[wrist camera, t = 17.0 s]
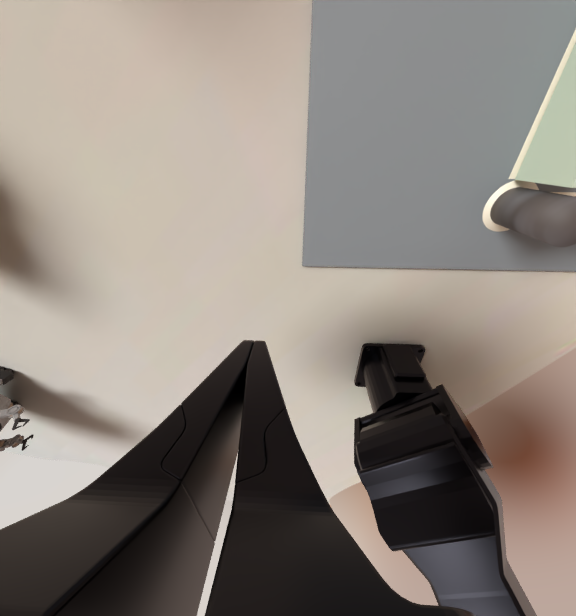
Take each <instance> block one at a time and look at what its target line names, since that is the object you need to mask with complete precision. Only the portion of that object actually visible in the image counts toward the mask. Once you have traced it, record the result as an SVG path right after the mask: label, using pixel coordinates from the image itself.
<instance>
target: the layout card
mask: <svg viewBox="0 0 576 616" xmlns="http://www.w3.org/2000/svg"><path fill="white" fill-rule="evenodd" d="M575 43H576V0H313V3H312V29H311V55H310V81H309V106H308V132H307V158H306V184H305V210H304V236H303V261H302V266H315V267H366V268H417V269H469V270H520V271H572V272H576V244H574V245H571V246H568V247H555V246H552V245H550V244H547V243H544V242H542V241H539V240H537V239H534V238H531V237H529V236H526V235H524V234H521V233H518V232H516V231H513V230H511V229H508V228H505V227H503V226H500V225H498V224H495V223H494V222H493V221H492V220H491V217H490V211H491V208H492V206H493V204H494V202H495V201H496V199H497V198H498V197H499V196H500V195H501V194H503V193H504V192H506V191H507V190H509V189H512V188H516V187H523V188H529V189H535V190H540V191H546V192H552V193H557V194H563V195H569V196H576V188H569V187H562V186H555V185H548V184H541V183H534V182H527V181H521V180H515V178H516V176H517V173H518V171H519V169H520V167H521V164H522V162H523V160H524V158H525V155H526V153H527V151H528V149H529V146H530V144H531V142H532V140H533V137H534V135H535V133H536V131H537V128H538V126H539V124H540V122H541V119H542V117H543V115H544V113H545V110H546V108H547V106H548V104H549V101H550V99H551V97H552V95H553V92H554V90H555V88H556V86H557V83H558V81H559V79H560V77H561V74H562V72H563V70H564V68H565V65H566V63H567V61H568V59H569V56H570V54H571V52H572V50H573V47H574V45H575Z"/></svg>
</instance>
